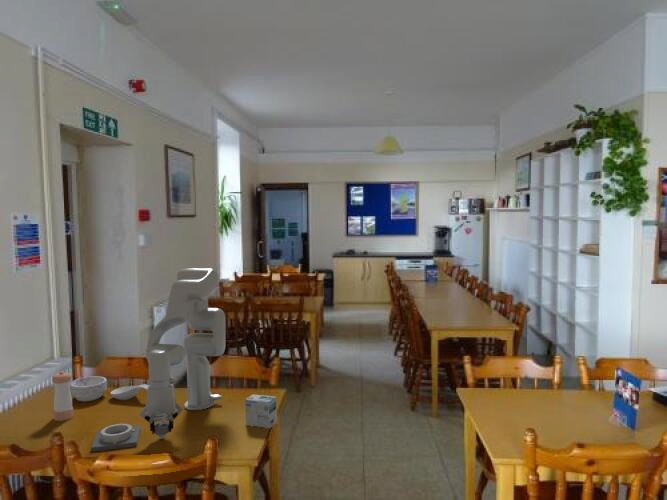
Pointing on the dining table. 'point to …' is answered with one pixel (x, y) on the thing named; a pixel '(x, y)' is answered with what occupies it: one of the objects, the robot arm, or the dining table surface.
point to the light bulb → (161, 425)
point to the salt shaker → (62, 397)
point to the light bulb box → (261, 411)
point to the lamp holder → (116, 437)
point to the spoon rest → (127, 391)
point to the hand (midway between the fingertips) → (162, 431)
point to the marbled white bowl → (88, 388)
